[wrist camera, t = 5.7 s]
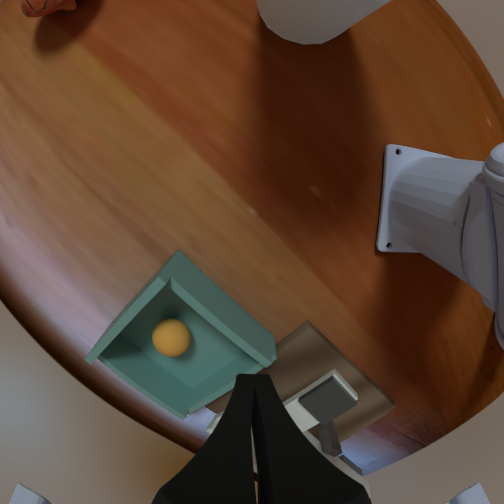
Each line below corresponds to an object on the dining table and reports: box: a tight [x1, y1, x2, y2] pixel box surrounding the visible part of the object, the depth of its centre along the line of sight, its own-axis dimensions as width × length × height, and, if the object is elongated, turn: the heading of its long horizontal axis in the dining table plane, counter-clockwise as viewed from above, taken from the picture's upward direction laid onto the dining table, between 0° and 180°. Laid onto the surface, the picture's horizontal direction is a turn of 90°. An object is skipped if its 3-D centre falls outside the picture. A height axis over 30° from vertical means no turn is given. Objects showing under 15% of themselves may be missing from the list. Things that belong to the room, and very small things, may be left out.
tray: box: [206, 369, 371, 497], centre depth 19 cm, size 16×11×5 cm, turn 44°
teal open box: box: [85, 249, 277, 419], centre depth 20 cm, size 10×10×5 cm
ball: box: [152, 318, 191, 357], centre depth 20 cm, size 3×3×3 cm
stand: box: [205, 321, 396, 457], centre depth 22 cm, size 17×13×8 cm
